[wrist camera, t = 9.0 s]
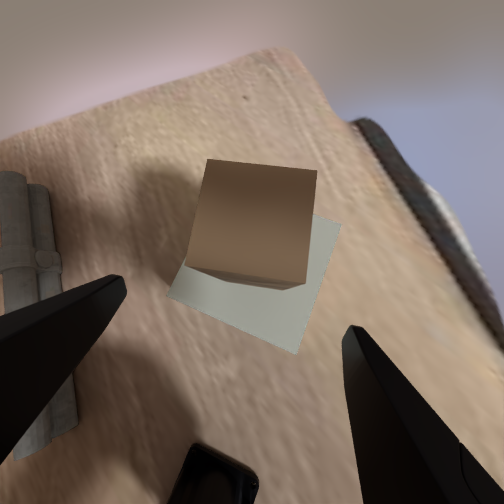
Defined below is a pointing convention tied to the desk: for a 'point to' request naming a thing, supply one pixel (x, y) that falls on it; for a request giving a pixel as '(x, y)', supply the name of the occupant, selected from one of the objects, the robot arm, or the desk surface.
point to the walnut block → (253, 224)
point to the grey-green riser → (262, 295)
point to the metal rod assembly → (32, 288)
